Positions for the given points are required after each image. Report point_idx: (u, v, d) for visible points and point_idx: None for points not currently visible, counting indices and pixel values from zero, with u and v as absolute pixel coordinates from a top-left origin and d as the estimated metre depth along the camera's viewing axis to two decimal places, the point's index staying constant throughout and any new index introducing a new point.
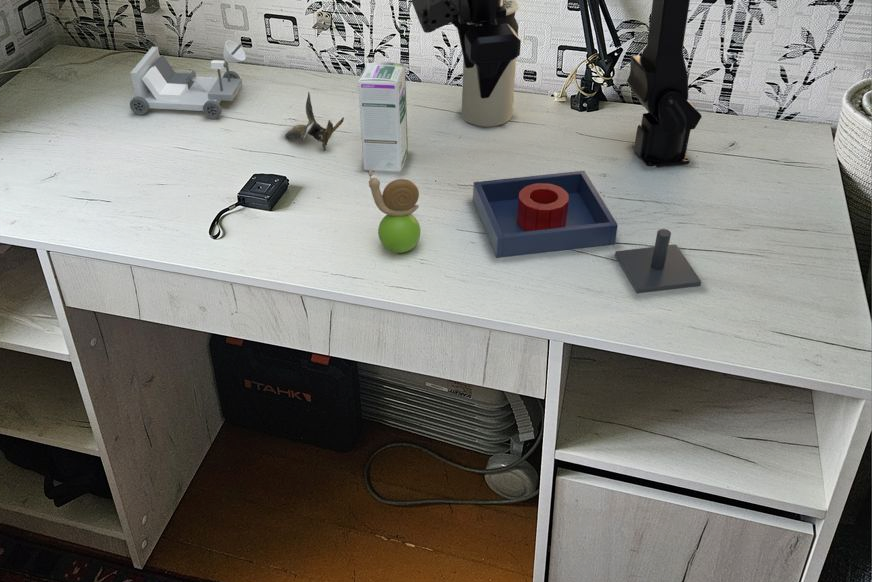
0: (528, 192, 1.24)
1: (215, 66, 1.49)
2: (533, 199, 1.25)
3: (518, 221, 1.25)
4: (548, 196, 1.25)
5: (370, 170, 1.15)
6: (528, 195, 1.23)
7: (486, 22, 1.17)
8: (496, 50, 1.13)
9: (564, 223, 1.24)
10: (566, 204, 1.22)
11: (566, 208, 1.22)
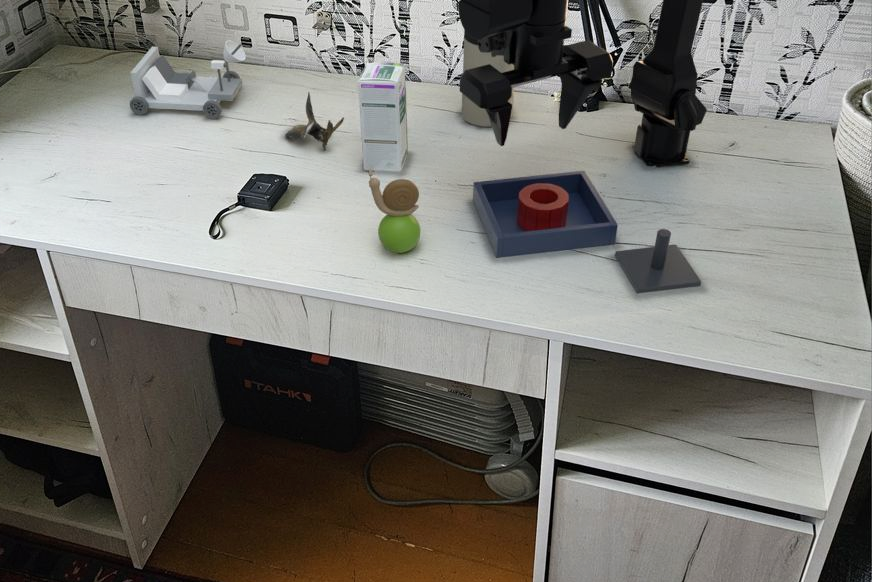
0: (528, 192, 1.24)
1: (215, 66, 1.49)
2: (533, 199, 1.25)
3: (518, 221, 1.25)
4: (548, 196, 1.25)
5: (370, 170, 1.15)
6: (528, 195, 1.23)
7: (514, 71, 1.13)
8: (469, 90, 1.12)
9: (564, 223, 1.24)
10: (566, 204, 1.22)
11: (566, 208, 1.22)
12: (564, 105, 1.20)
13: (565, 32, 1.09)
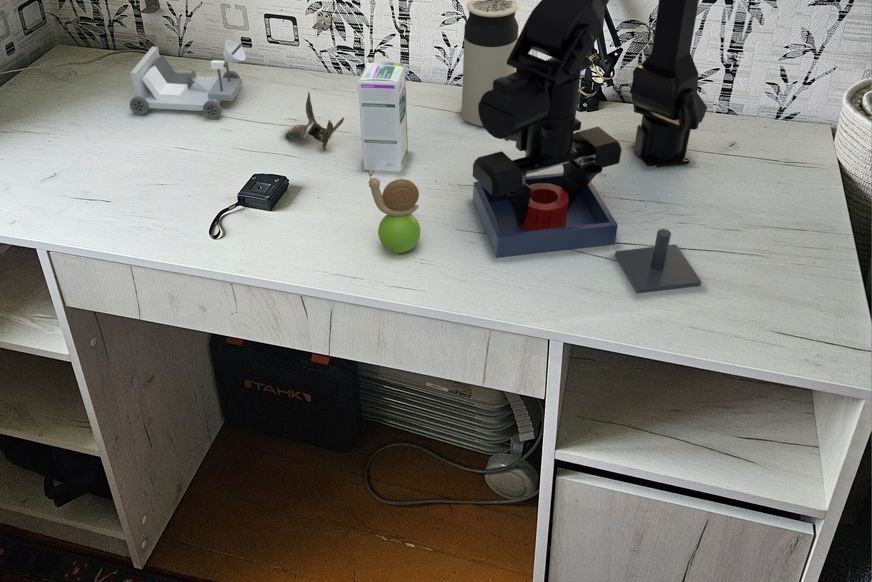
0: None
1: (215, 66, 1.49)
2: (533, 199, 1.25)
3: None
4: (548, 196, 1.25)
5: (370, 170, 1.15)
6: None
7: (525, 159, 1.18)
8: (482, 177, 1.17)
9: (564, 223, 1.24)
10: (566, 204, 1.22)
11: (566, 208, 1.22)
12: (565, 190, 1.24)
13: (575, 125, 1.14)
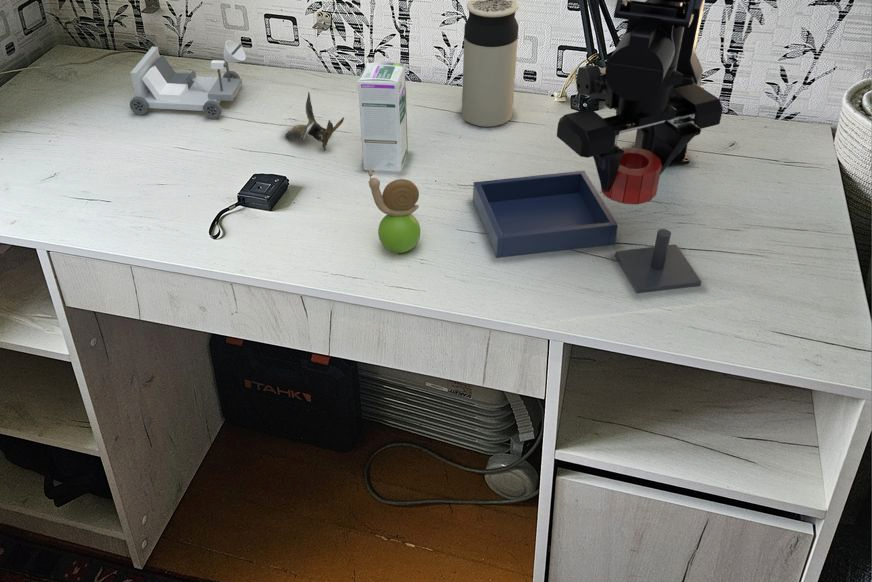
0: None
1: (215, 66, 1.49)
2: (620, 165, 1.13)
3: None
4: (637, 161, 1.12)
5: (370, 170, 1.15)
6: None
7: (617, 117, 1.05)
8: (569, 137, 1.05)
9: (655, 191, 1.11)
10: (659, 169, 1.09)
11: (658, 174, 1.10)
12: (657, 154, 1.11)
13: (676, 78, 1.02)
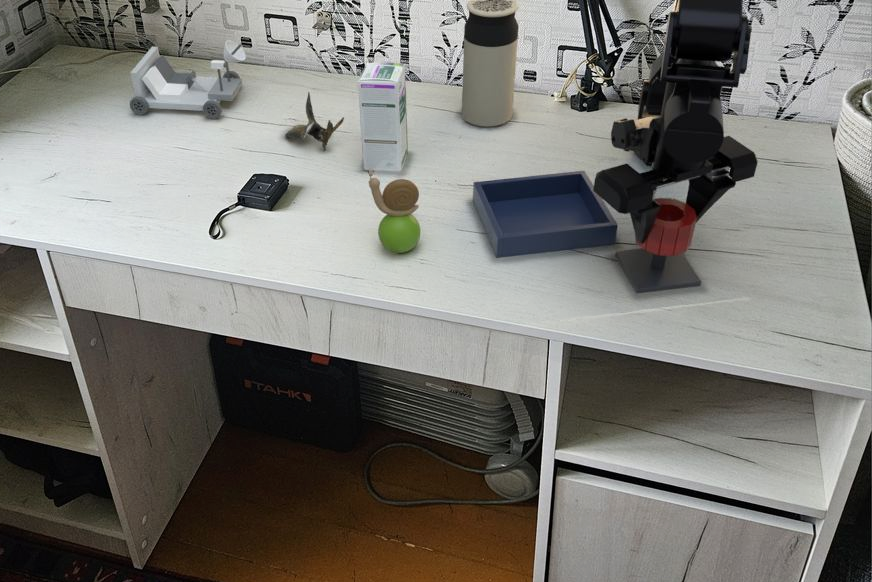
0: None
1: (215, 66, 1.49)
2: None
3: None
4: (671, 212, 1.13)
5: (370, 170, 1.15)
6: None
7: (654, 172, 1.06)
8: (606, 192, 1.05)
9: (690, 242, 1.12)
10: (694, 221, 1.10)
11: (693, 226, 1.10)
12: (691, 205, 1.12)
13: None
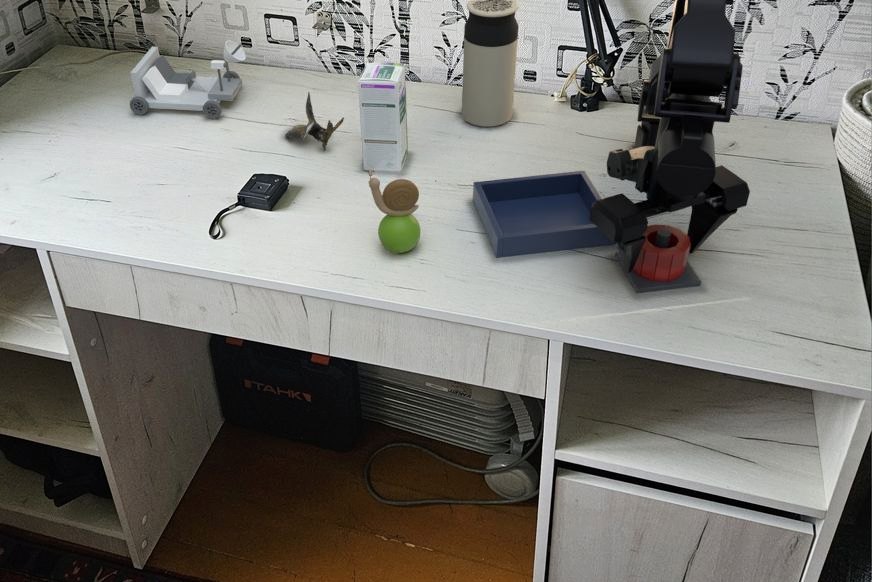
0: (645, 235, 1.14)
1: (215, 66, 1.49)
2: (649, 242, 1.16)
3: None
4: None
5: (370, 170, 1.15)
6: None
7: (648, 202, 1.08)
8: (602, 222, 1.08)
9: (684, 268, 1.14)
10: (688, 248, 1.12)
11: (687, 252, 1.13)
12: (694, 230, 1.15)
13: None
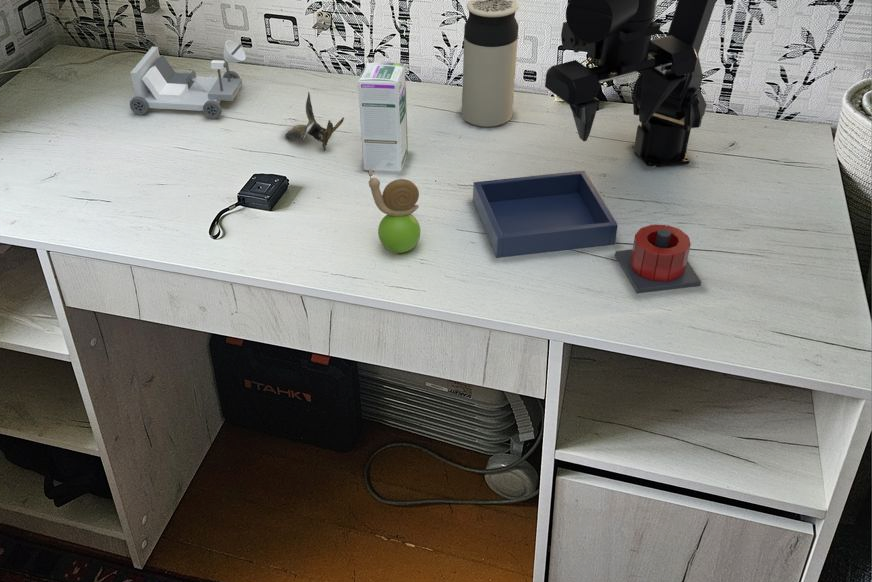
0: (645, 235, 1.14)
1: (215, 66, 1.49)
2: (649, 242, 1.16)
3: (633, 266, 1.15)
4: None
5: (370, 170, 1.15)
6: (645, 238, 1.14)
7: (600, 67, 1.14)
8: (557, 86, 1.13)
9: (684, 268, 1.14)
10: (688, 248, 1.12)
11: (687, 252, 1.13)
12: (646, 100, 1.20)
13: (654, 28, 1.10)
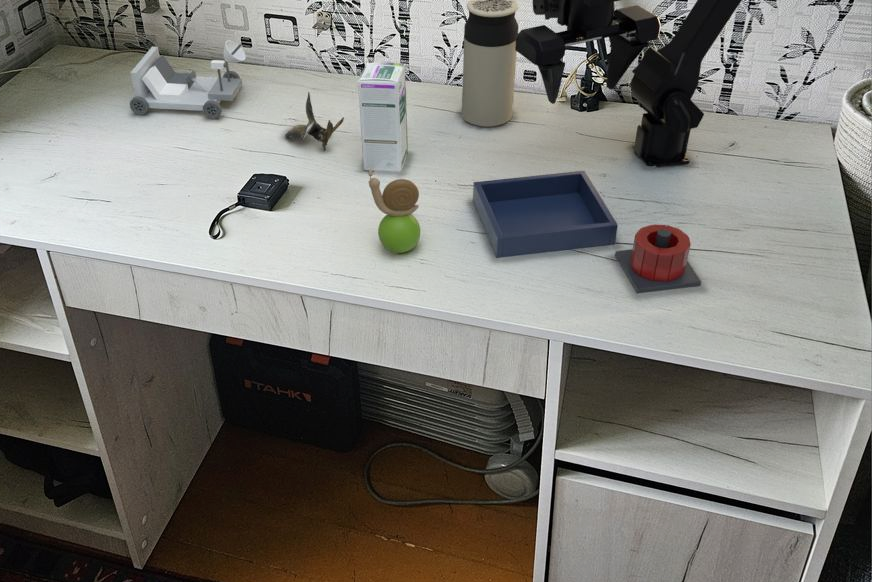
0: (645, 235, 1.14)
1: (215, 66, 1.49)
2: (649, 242, 1.16)
3: (633, 266, 1.15)
4: None
5: (370, 170, 1.15)
6: (645, 238, 1.14)
7: (567, 32, 1.20)
8: (525, 48, 1.19)
9: (684, 268, 1.14)
10: (688, 248, 1.12)
11: (687, 252, 1.13)
12: (613, 66, 1.27)
13: None
